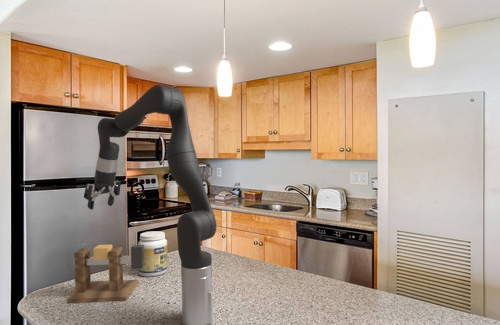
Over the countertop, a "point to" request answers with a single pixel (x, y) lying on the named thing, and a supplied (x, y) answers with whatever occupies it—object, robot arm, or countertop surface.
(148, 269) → the supplement tub
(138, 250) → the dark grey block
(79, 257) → the wooden shaft stand
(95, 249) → the ochre spacer
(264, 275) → the countertop surface
